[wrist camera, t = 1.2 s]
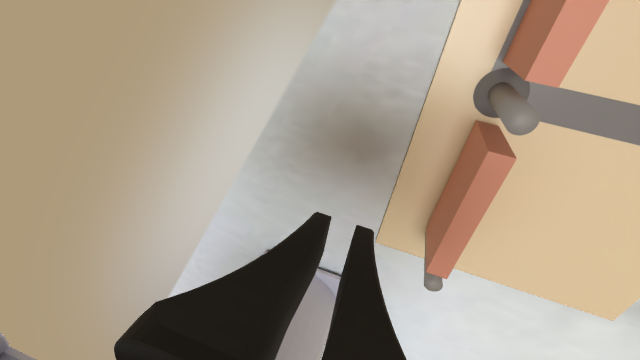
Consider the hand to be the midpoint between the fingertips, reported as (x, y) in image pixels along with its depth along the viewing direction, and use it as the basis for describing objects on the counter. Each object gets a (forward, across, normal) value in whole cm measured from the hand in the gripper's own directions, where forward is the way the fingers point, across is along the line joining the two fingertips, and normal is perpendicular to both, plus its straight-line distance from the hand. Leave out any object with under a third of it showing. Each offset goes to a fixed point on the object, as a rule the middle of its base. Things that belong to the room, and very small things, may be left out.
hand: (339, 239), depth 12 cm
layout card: (+9, -10, -2) cm, 14 cm away
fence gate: (+9, -6, +1) cm, 11 cm away
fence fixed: (+9, -6, -9) cm, 14 cm away
